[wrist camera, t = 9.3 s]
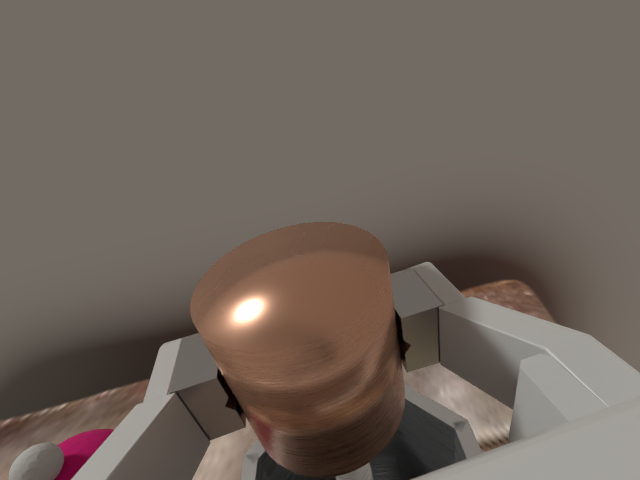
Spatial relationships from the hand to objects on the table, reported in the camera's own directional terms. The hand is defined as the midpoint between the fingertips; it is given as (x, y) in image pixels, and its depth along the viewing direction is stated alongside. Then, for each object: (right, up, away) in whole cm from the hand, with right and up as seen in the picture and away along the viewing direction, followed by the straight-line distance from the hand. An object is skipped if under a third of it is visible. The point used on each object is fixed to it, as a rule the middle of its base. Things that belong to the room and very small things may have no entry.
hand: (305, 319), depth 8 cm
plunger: (+5, -21, +11) cm, 24 cm away
